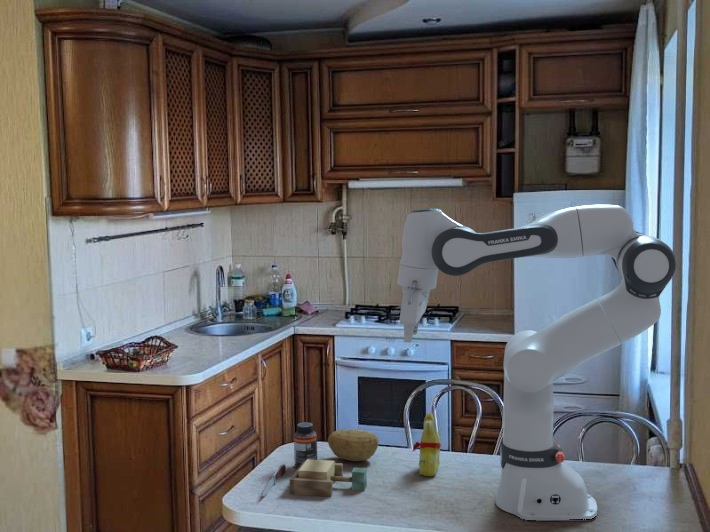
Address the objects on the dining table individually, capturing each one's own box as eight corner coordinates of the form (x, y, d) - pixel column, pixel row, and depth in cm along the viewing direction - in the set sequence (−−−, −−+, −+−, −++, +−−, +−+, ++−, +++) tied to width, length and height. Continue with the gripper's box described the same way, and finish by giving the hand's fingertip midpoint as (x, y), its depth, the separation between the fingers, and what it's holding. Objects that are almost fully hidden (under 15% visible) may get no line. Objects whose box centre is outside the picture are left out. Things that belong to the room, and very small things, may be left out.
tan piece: (342, 476, 205) (342, 463, 204) (331, 496, 192) (330, 482, 192) (304, 474, 207) (304, 460, 206) (289, 493, 194) (289, 479, 194)
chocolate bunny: (442, 463, 214) (442, 407, 212) (437, 478, 203) (437, 419, 201) (416, 461, 215) (416, 406, 214) (410, 476, 205) (409, 418, 203)
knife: (282, 471, 210) (281, 460, 210) (286, 471, 210) (286, 460, 209) (260, 502, 190) (259, 490, 190) (265, 503, 190) (265, 490, 189)
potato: (337, 451, 224) (337, 422, 224) (384, 458, 218) (384, 428, 218) (320, 462, 216) (320, 432, 215) (369, 469, 210) (369, 439, 209)
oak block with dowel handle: (368, 482, 201) (368, 462, 200) (362, 494, 193) (362, 474, 193) (307, 478, 204) (307, 459, 204) (298, 490, 196) (298, 470, 196)
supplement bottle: (305, 461, 217) (304, 419, 215) (322, 466, 213) (321, 423, 212) (289, 467, 212) (288, 424, 211) (306, 472, 208) (305, 429, 207)
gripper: (425, 286, 176) (418, 349, 177) (435, 275, 196) (428, 331, 197) (396, 282, 177) (389, 344, 179) (409, 271, 197) (403, 328, 198)
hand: (410, 337), depth 188 cm, fingers open, 8 cm apart
